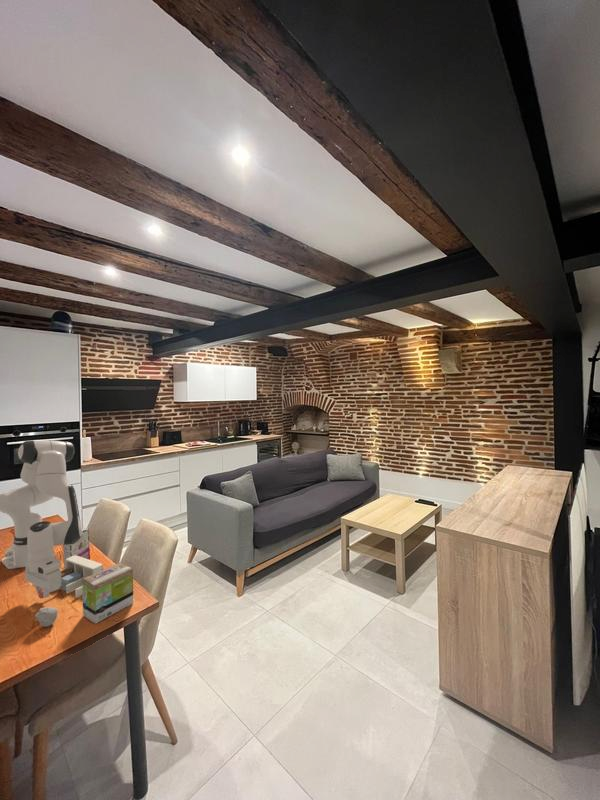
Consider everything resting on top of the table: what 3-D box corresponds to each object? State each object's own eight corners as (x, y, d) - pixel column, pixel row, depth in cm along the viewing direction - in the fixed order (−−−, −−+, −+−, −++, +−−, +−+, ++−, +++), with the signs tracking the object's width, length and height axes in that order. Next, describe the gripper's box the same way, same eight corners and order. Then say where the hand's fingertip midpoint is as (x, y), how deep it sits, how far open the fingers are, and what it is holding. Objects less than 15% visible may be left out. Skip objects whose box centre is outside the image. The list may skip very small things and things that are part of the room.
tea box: (96, 625, 126) (94, 585, 126) (82, 616, 131) (81, 578, 131) (134, 603, 139) (133, 567, 138) (120, 595, 144) (119, 561, 144)
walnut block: (52, 585, 153) (52, 574, 153) (67, 579, 158) (66, 568, 158) (58, 588, 151) (58, 577, 151) (72, 581, 156) (72, 570, 156)
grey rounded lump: (33, 627, 126) (33, 608, 126) (56, 617, 131) (55, 599, 131) (37, 634, 122) (36, 615, 121) (61, 624, 127) (60, 606, 127)
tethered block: (36, 601, 141) (35, 589, 141) (75, 582, 155) (75, 571, 155) (42, 604, 139) (41, 592, 139) (81, 584, 153) (81, 573, 153)
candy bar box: (82, 558, 178) (81, 527, 177) (90, 559, 177) (89, 528, 176) (63, 570, 167) (61, 536, 166) (71, 570, 166) (70, 537, 165)
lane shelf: (48, 585, 153) (47, 566, 153) (75, 573, 163) (75, 555, 163) (76, 597, 143) (75, 577, 143) (103, 583, 154) (103, 564, 154)
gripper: (19, 561, 143) (21, 593, 143) (46, 571, 134) (48, 606, 134) (36, 554, 149) (38, 585, 149) (63, 564, 139) (65, 597, 140)
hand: (43, 595), depth 141 cm, fingers closed on tethered block, 3 cm apart
